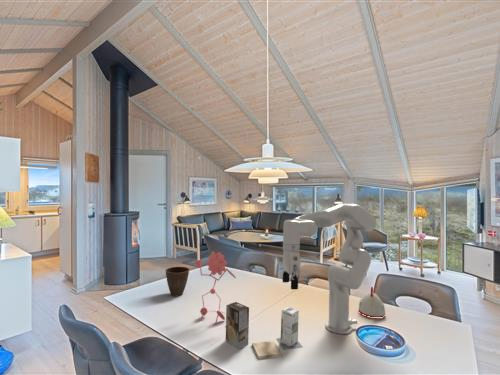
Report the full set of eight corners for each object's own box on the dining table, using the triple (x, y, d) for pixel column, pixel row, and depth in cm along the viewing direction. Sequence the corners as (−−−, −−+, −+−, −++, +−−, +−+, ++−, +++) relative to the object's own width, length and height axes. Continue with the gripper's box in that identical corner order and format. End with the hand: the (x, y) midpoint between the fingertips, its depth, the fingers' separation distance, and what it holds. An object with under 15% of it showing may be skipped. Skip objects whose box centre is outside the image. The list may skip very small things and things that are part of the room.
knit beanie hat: (357, 315, 155) (357, 288, 156) (359, 307, 168) (359, 282, 168) (385, 321, 149) (385, 293, 150) (385, 312, 162) (385, 286, 162)
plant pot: (183, 299, 172) (183, 273, 173) (160, 297, 174) (161, 271, 175) (191, 291, 187) (192, 267, 187) (170, 289, 189) (171, 266, 190)
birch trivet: (273, 343, 124) (273, 340, 124) (281, 356, 114) (282, 352, 114) (252, 345, 121) (252, 342, 121) (258, 359, 111) (258, 355, 111)
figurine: (229, 329, 135) (231, 256, 137) (186, 318, 147) (189, 251, 148) (243, 317, 149) (245, 252, 151) (203, 308, 160) (206, 247, 162)
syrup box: (286, 337, 128) (287, 306, 129) (298, 342, 125) (298, 309, 125) (280, 342, 124) (280, 309, 124) (291, 347, 120) (292, 313, 121)
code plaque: (294, 336, 130) (294, 336, 130) (302, 347, 121) (302, 346, 121) (276, 338, 128) (276, 338, 128) (283, 349, 119) (283, 349, 119)
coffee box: (249, 344, 122) (250, 307, 123) (238, 349, 118) (239, 311, 118) (235, 336, 129) (236, 301, 129) (224, 341, 124) (225, 304, 125)
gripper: (307, 251, 118) (306, 291, 118) (291, 244, 135) (290, 279, 134) (291, 251, 116) (289, 292, 116) (276, 244, 133) (275, 280, 132)
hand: (289, 285), depth 125 cm, fingers open, 9 cm apart
